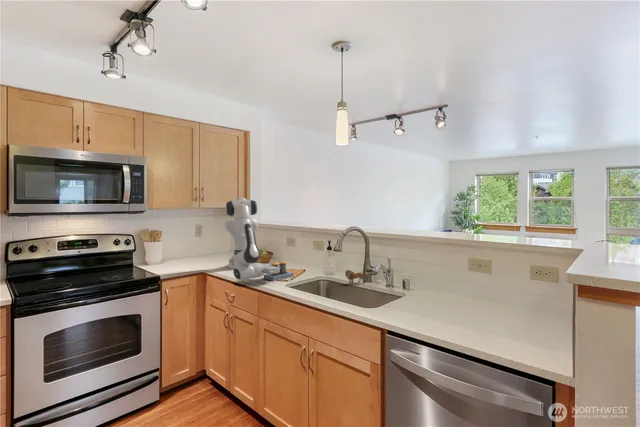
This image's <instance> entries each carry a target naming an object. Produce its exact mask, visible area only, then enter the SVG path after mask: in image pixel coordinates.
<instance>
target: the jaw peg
mask: <svg viewBox="0 0 640 427" xmlns="http://www.w3.org/2000/svg"><path fill="white" fill-rule="evenodd" d="M270 265H272V266H274V267H279V262H271V263H270ZM272 275H273V276H277V275H279V270H278V273H275V274H272Z"/></svg>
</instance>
